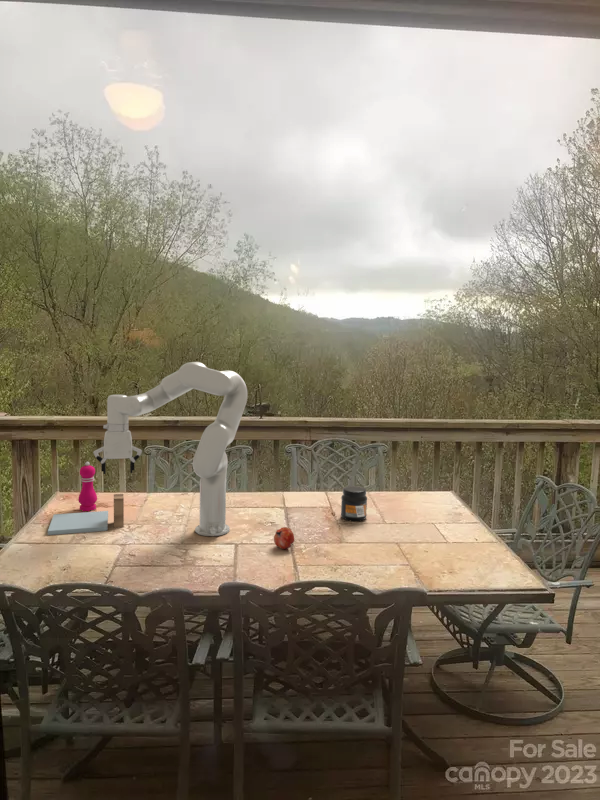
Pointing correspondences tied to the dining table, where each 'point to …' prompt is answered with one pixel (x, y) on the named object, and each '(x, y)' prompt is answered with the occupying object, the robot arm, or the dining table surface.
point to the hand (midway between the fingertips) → (118, 472)
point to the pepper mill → (87, 488)
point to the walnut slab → (118, 510)
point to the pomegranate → (284, 538)
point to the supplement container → (354, 503)
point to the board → (78, 522)
